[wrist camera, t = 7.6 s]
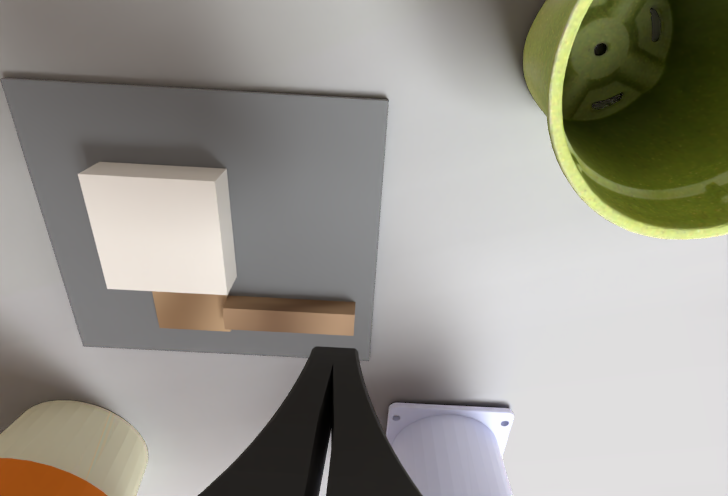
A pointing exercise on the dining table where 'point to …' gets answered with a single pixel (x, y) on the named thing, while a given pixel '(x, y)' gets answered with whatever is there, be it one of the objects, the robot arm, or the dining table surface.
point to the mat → (246, 192)
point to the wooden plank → (253, 313)
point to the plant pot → (638, 109)
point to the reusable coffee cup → (71, 452)
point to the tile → (161, 227)
